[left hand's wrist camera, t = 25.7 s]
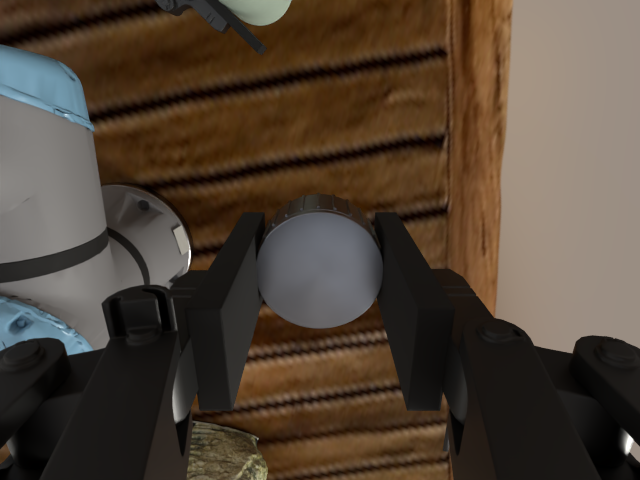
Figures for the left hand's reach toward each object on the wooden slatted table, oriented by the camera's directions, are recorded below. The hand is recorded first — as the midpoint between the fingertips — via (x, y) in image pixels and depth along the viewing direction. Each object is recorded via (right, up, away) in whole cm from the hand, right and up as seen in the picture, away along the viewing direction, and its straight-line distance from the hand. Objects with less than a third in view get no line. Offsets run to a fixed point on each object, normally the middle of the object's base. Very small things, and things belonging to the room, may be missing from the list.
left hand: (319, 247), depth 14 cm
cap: (0, -1, -2) cm, 2 cm away
